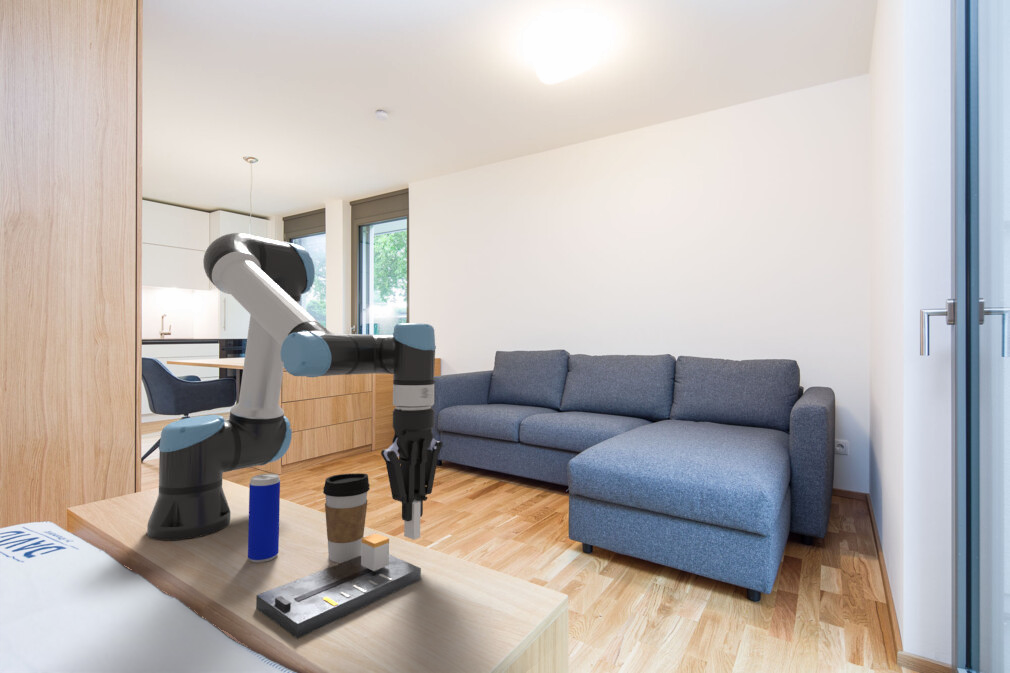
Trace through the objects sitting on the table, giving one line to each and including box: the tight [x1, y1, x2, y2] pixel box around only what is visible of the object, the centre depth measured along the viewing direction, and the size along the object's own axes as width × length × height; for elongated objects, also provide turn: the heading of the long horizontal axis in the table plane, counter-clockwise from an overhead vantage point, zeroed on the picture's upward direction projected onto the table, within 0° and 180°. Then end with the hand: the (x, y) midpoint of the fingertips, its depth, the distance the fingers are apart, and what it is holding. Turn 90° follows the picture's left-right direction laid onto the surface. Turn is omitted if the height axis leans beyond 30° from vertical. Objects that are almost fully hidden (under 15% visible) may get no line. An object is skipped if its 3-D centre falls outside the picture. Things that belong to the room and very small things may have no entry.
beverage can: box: [247, 473, 281, 564], centre depth 92 cm, size 5×5×15 cm
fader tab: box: [361, 532, 390, 571], centre depth 83 cm, size 4×3×4 cm
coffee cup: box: [322, 472, 371, 564], centre depth 93 cm, size 8×8×15 cm
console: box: [255, 554, 422, 640], centre depth 79 cm, size 12×22×3 cm, turn 141°
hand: (412, 536), depth 90 cm, fingers closed
